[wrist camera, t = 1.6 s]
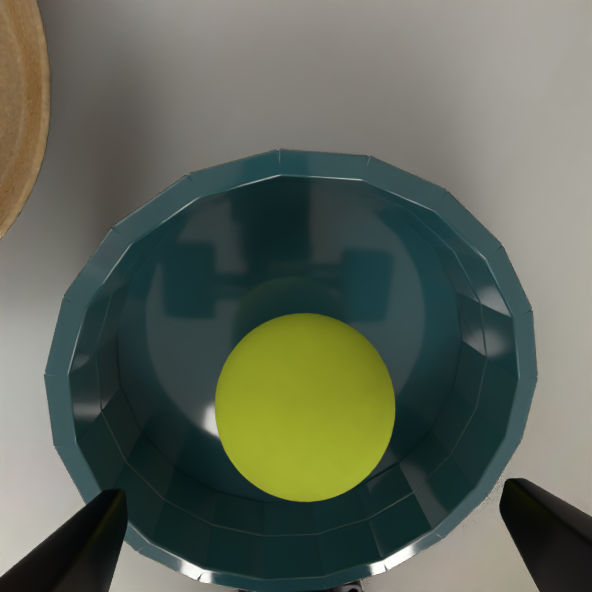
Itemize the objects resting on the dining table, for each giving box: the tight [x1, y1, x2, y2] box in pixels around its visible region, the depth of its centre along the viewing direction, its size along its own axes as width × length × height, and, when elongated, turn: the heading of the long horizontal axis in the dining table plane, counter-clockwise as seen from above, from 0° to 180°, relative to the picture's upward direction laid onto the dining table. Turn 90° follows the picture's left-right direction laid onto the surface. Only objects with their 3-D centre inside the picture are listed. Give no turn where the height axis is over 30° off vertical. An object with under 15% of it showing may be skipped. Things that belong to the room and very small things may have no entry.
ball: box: [215, 313, 395, 502], centre depth 12 cm, size 6×6×6 cm
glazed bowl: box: [44, 149, 538, 592], centre depth 14 cm, size 16×16×4 cm
